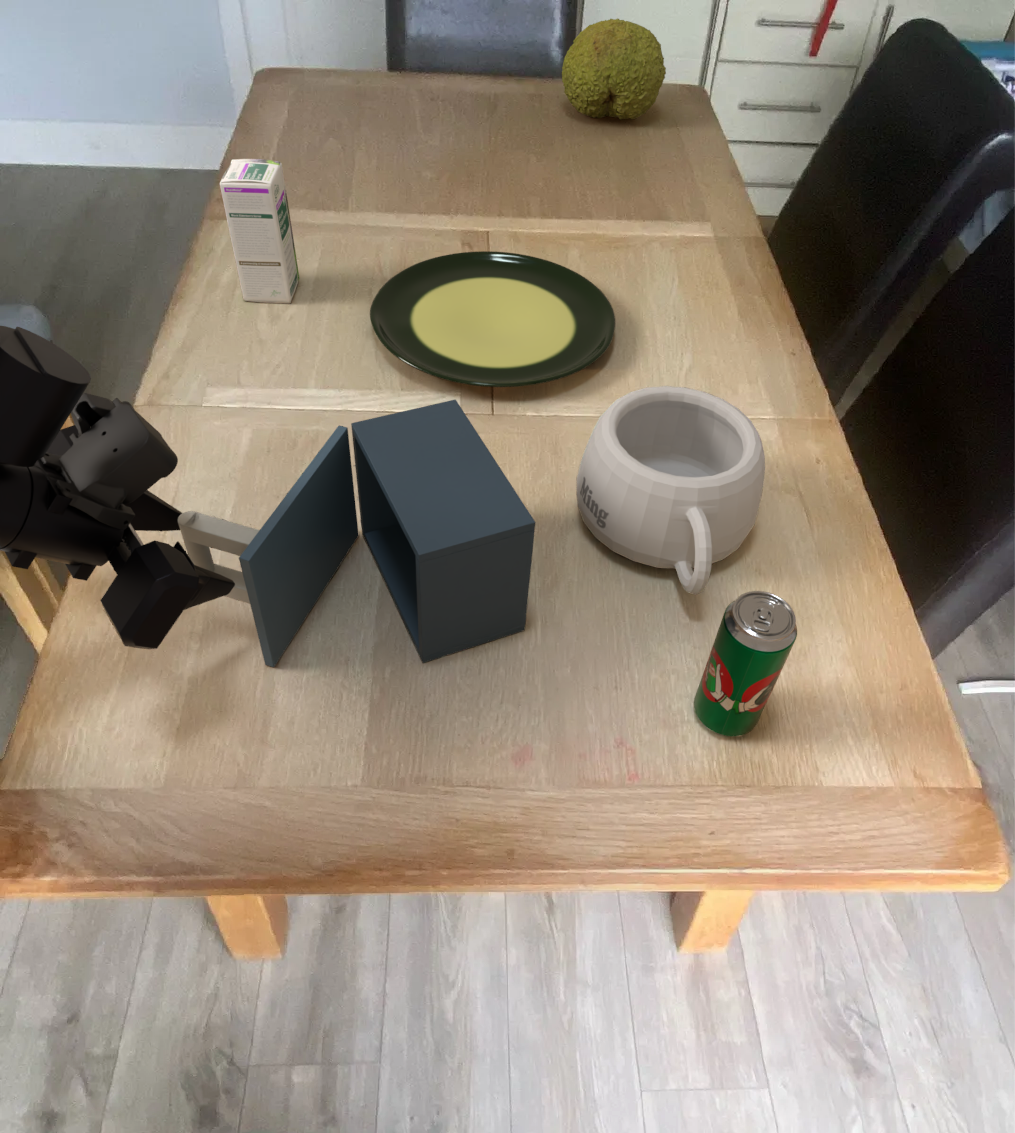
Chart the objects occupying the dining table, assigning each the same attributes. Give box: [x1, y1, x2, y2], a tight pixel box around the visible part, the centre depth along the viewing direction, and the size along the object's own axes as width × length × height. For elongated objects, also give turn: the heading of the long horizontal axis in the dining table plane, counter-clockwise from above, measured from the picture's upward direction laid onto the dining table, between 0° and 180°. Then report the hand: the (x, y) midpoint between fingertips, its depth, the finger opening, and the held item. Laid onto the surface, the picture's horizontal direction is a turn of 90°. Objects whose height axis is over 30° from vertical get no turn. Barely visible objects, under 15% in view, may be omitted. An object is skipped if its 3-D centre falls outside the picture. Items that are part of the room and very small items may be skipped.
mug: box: [576, 385, 766, 595], centre depth 80 cm, size 21×17×10 cm
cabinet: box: [350, 399, 536, 664], centre depth 73 cm, size 9×16×13 cm, turn 24°
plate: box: [369, 250, 616, 388], centre depth 104 cm, size 28×28×2 cm
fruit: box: [561, 17, 667, 121], centre depth 145 cm, size 16×14×15 cm
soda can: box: [693, 590, 798, 737], centre depth 66 cm, size 5×5×12 cm
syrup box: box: [218, 158, 300, 304], centre depth 103 cm, size 6×6×14 cm
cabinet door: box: [178, 425, 360, 668], centre depth 72 cm, size 7×16×12 cm, turn 161°
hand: (208, 554), depth 69 cm, fingers open, 8 cm apart
